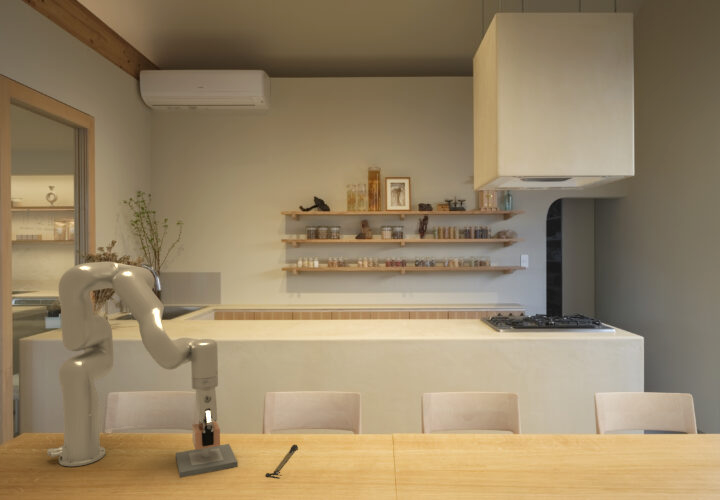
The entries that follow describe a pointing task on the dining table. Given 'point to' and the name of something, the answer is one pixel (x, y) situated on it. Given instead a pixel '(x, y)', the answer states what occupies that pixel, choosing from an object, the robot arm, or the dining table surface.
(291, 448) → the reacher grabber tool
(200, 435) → the collar
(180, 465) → the post board
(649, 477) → the dining table surface
